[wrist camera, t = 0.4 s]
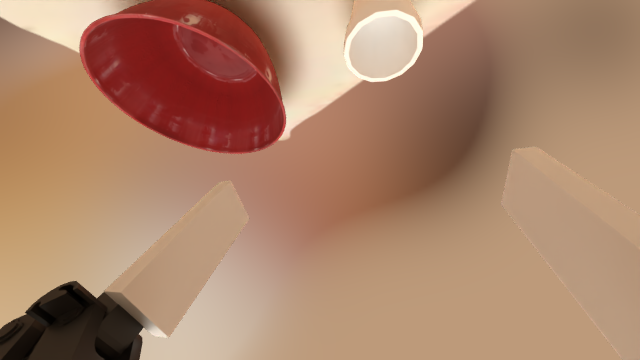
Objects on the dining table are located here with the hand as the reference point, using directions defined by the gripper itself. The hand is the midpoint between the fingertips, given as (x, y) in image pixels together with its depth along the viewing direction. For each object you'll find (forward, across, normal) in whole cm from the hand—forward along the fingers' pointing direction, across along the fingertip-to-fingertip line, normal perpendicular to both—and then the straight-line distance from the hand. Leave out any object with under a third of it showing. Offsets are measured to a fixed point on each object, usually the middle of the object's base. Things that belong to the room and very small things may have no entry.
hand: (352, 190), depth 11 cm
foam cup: (+35, +3, +12) cm, 37 cm away
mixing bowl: (+36, -26, +12) cm, 46 cm away
